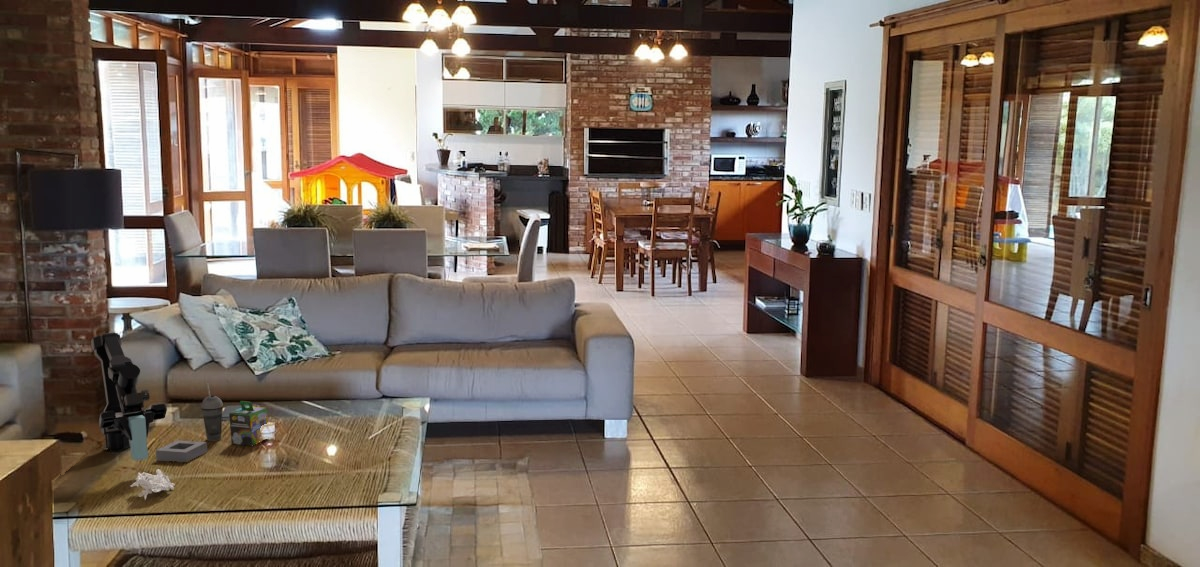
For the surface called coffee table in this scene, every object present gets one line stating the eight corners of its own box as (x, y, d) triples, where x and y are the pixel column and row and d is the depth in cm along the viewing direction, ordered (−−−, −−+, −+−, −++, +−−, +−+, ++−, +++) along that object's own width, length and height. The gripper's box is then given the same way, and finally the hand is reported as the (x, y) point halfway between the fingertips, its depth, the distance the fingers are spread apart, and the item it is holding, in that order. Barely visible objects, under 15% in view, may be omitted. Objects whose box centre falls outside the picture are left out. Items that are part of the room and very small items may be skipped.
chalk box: (269, 439, 331) (267, 398, 329) (252, 447, 322) (249, 404, 320) (248, 436, 334) (245, 396, 332) (230, 444, 325) (227, 402, 323)
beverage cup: (217, 442, 327) (213, 386, 324) (198, 441, 328) (194, 385, 325) (229, 436, 334) (226, 381, 331) (211, 435, 335) (207, 380, 332)
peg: (131, 457, 293) (128, 417, 292) (145, 455, 296) (142, 414, 294) (134, 460, 290) (131, 420, 289) (148, 458, 293) (145, 417, 291)
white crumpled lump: (144, 484, 269) (127, 467, 277) (139, 506, 270) (122, 489, 277) (185, 480, 278) (167, 464, 286) (180, 502, 279) (162, 485, 287)
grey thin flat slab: (254, 415, 356) (212, 418, 352) (255, 420, 356) (212, 423, 353) (261, 402, 375) (221, 404, 372) (262, 407, 375) (221, 409, 372)
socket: (156, 460, 308) (156, 450, 308) (178, 450, 319) (177, 440, 318) (186, 462, 306) (185, 452, 305) (207, 452, 316) (206, 442, 316)
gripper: (98, 386, 287) (108, 430, 280) (163, 377, 299) (175, 419, 292) (94, 406, 294) (104, 449, 287) (158, 397, 306) (169, 437, 299)
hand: (139, 438), depth 291 cm, fingers closed on peg, 4 cm apart
